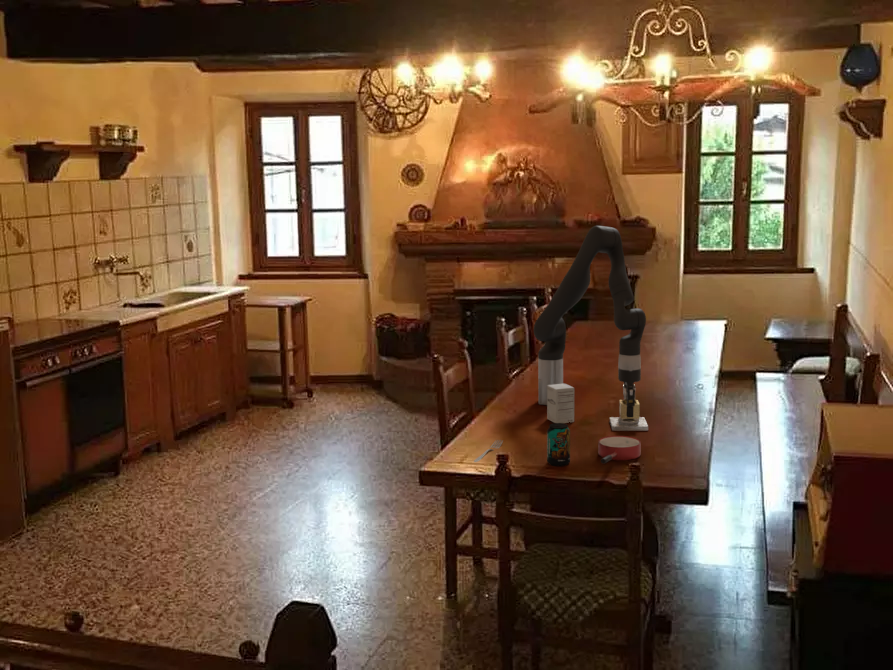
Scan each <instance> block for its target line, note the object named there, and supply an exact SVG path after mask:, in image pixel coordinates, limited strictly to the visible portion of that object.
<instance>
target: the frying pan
mask: <svg viewBox="0 0 893 670" xmlns="http://www.w3.org/2000/svg"><path fill="white" fill-rule="evenodd" d="M597 443H598V444H597V445H598V447H597V448H598V450H597V452H598V455H599V456H600V457H601V459H600V463H601V464H602V465H604V464H607V463H608V462H609V461H631V460H635V459H637V458H640V456H641V453H642V452H641V451H642V450H641V449H642V448H641V447H642V446H641V443H642V442H641V440H640V439H639V438H636V437H634V436H627V435H610V436H609V435H607V436H603V437H601V438H599V439H598V442H597Z"/></svg>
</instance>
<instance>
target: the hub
mask: <svg viewBox="0 0 893 670" xmlns="http://www.w3.org/2000/svg"><path fill="white" fill-rule="evenodd" d="M629 403H632V400H629ZM626 404H627V403H626V400H624V399H619V409H618V410H619V411H618V413H619V417H621V419H639V417H640V402H639V400H638V399H635V406H634V409H633V417H627V406H626Z"/></svg>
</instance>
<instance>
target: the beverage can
mask: <svg viewBox="0 0 893 670" xmlns="http://www.w3.org/2000/svg"><path fill="white" fill-rule="evenodd" d="M546 462H547V464H549V465H550V466H552V467H566V466H568V465H569V464H570V462H571V430H570V428H569V425H568V424H567V423H554V422H552V423H550V424H549V425H548V428H547V430H546Z"/></svg>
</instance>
